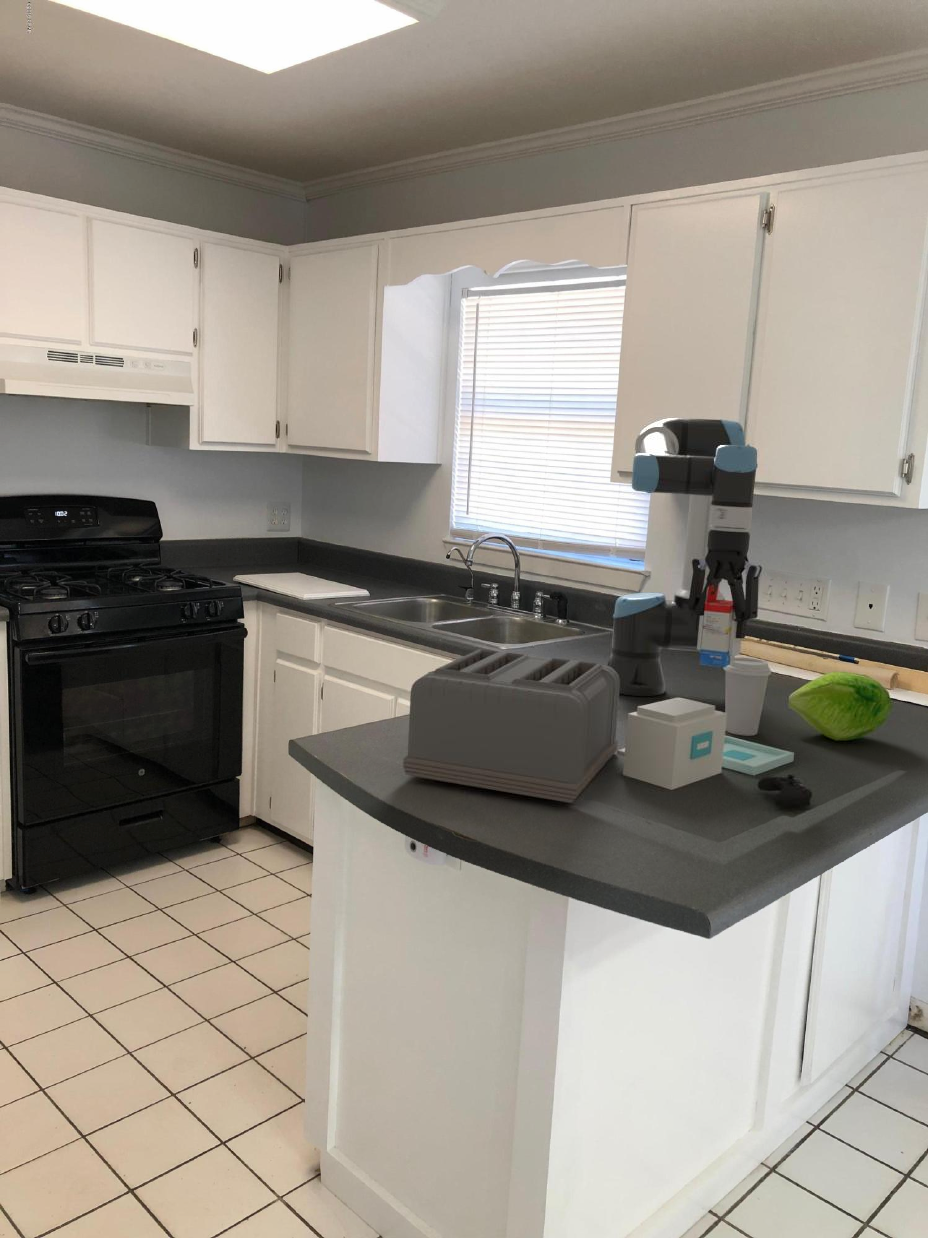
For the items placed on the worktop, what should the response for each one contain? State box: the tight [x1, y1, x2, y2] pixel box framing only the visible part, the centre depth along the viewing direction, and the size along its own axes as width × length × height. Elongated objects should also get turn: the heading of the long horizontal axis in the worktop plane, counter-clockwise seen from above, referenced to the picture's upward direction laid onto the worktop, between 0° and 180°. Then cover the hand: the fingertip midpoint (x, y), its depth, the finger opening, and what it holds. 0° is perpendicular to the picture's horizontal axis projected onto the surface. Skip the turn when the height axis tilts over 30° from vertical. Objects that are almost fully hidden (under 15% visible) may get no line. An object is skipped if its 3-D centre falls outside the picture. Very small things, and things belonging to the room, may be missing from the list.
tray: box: [722, 734, 795, 776], centre depth 192 cm, size 15×15×2 cm
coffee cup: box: [722, 656, 772, 736], centre depth 211 cm, size 10×10×15 cm
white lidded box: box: [616, 697, 727, 791], centre depth 180 cm, size 14×16×12 cm
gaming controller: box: [757, 774, 813, 808], centre depth 167 cm, size 10×5×6 cm
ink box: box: [699, 585, 736, 668], centre depth 191 cm, size 8×5×15 cm, turn 153°
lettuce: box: [788, 671, 893, 742], centre depth 211 cm, size 15×20×14 cm
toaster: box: [402, 648, 620, 804], centre depth 182 cm, size 30×36×18 cm
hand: (718, 651), depth 192 cm, fingers closed on ink box, 6 cm apart
